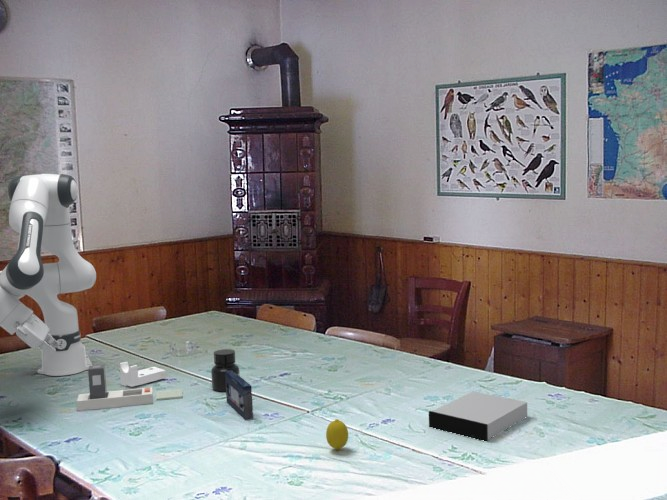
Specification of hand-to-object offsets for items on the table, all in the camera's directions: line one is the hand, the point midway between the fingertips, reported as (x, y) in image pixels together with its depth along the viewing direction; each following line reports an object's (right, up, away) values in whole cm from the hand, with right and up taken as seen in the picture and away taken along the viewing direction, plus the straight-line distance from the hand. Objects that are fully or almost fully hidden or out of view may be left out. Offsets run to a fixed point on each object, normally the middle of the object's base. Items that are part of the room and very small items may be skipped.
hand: (55, 349), depth 228 cm
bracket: (+19, -15, +28) cm, 37 cm away
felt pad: (+31, -16, +12) cm, 37 cm away
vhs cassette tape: (+55, -18, -4) cm, 58 cm away
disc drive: (+123, -18, -20) cm, 126 cm away
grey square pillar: (+11, -16, +5) cm, 20 cm away
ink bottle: (+48, -15, +18) cm, 54 cm away
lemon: (+84, -21, -36) cm, 94 cm away
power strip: (+16, -18, +6) cm, 25 cm away
